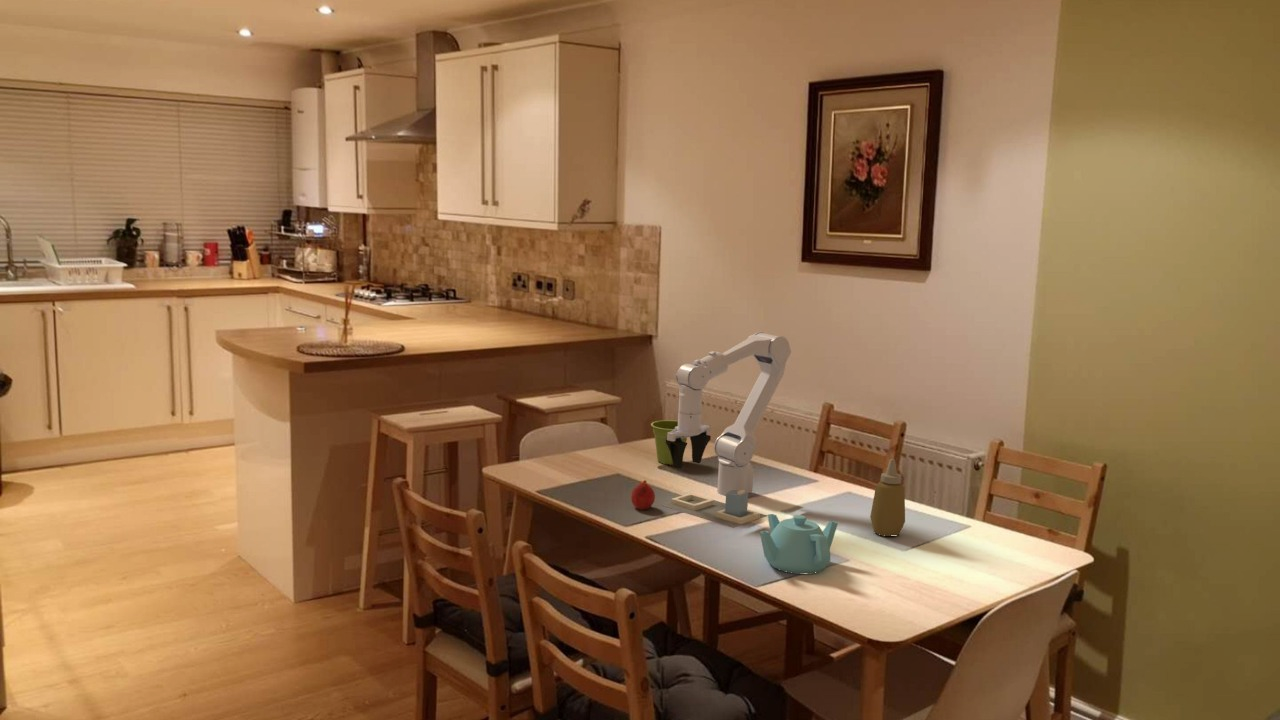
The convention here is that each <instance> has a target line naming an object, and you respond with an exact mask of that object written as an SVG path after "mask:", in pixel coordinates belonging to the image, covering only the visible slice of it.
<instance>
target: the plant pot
mask: <svg viewBox="0 0 1280 720" xmlns="http://www.w3.org/2000/svg"><path fill="white" fill-rule="evenodd" d="M650 426H651V427H652V431H653V434H654V440H655V450H656V458H657V462H659V463H660V464H662V463H663V464H662V465H668V464H669V466H670V465H672V466H673V461H672V457H671V453H670V450H669V448H668V446H667V444H666V438H667V433H668V432H671V431H673V430H675V427H677V426H678V420H673V419H672V420H670V419H666V420H664V419H663V420H656V421H653V422H651V423H650ZM681 440H682V442H686V443H687V440H688V437H687V438H682V439H681Z"/></svg>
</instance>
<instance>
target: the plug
mask: <svg viewBox="0 0 1280 720" xmlns="http://www.w3.org/2000/svg"><path fill="white" fill-rule="evenodd" d="M724 503H725V513H726V514H729V515H733V516H736V517H740V518H741V517H744V516H747V510H748V505H749V504H748V503H749V493H748V492H745V490H740V491H738V490H732V491H730V492H728V493H726V496H725V502H724Z"/></svg>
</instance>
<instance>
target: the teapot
mask: <svg viewBox="0 0 1280 720" xmlns="http://www.w3.org/2000/svg"><path fill="white" fill-rule="evenodd" d="M767 515H768V516H767V519H768V525H769V531H768V530H761V531H759V535H760V540H761V546H762V550H763V555H764V558H765V559H766V562H768V564H769V565H770V566H771V565H772V566H773V567H772V566H771V567H772V568H774V567H775V568H777V569H780V570H783V571H787V572H792V573H814V574H816V573H815V572H818V573H820V572H822V571H823V570H824V569H826V567H827V566H829V564H830V562H831V550H830V549H831V547H832V543H833V540H834V536H835V533H836V531H837V527H838V524H839V523H838V521H835V520H831V521H829V520H828V523H827V525H826V526H825V527H824V528H823V530H822V528H821V527H820V525H819V524H818V523H816V522H815V521H813V520H809V519H807V516H805V515H801V514H796V515H795V514H794V515H793V516H792V518H787V519H786V518H785V519H783V520H781V521H780V520H779V517H778V516H777V514H774V513H770V514H767ZM775 568H774V569H775ZM777 569H776V570H777ZM780 570H779V571H780ZM821 570H822V571H821ZM783 571H782V572H783ZM819 571H820V572H819ZM787 572H786V573H787ZM792 573H791V574H792Z"/></svg>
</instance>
